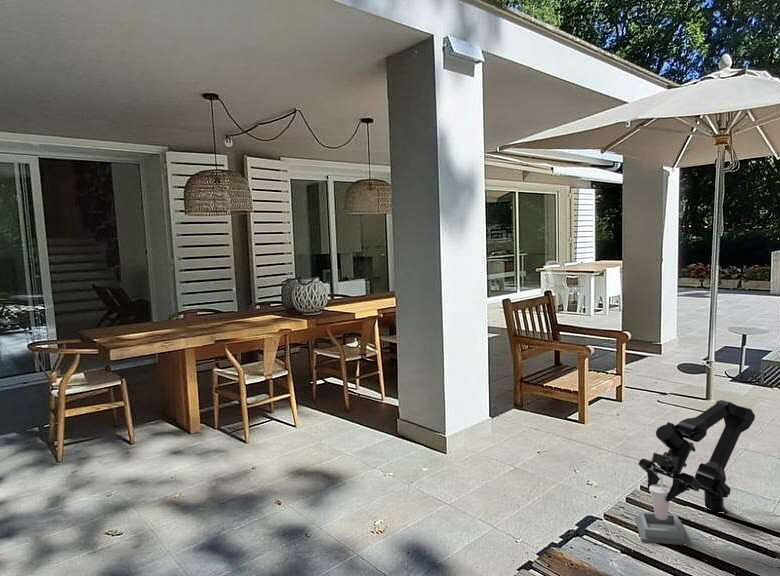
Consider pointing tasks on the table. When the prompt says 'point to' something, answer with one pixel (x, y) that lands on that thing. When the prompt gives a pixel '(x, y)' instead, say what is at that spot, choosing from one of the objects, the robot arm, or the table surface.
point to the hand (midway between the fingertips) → (657, 497)
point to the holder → (661, 529)
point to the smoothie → (660, 500)
